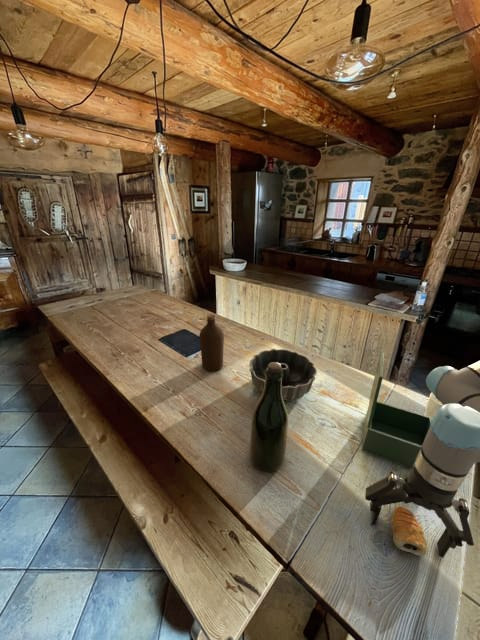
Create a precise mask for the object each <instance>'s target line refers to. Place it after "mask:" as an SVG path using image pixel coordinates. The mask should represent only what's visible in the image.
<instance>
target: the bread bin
mask: <svg viewBox="0 0 480 640" xmlns="http://www.w3.org/2000/svg"><path fill="white" fill-rule="evenodd" d="M368 411H369V406H367V410H366V413H365V416H364V424H363V436H362V445H361V451H363V452H366V453H369V454H370V455H371V454H372V455H374V456H377V457H379V458H382V459H384V460H388V461H390V462H392V463H395V464H398V465H401V466H403V467H406V468H409V469H410V470H411V469H412V466H413V464H414V462H415V459H416V457H417V455H418V453H419V451H420V449H421V447H422V445H423V442H424V440H425V438H426V435H427V433H428V430H429V428H430V425H431V421H432V417H429V416H426V415H424V413H422V414H421V413H419V412H416V411H412V410H410V409H406V408H403V407H398V406H396V405H392V404H389V403H385V402H382V401H379V400H377V403H376V407H375V411H374V414H373V418H372V422H371V426H370V429H369V428H367V422H368Z"/></svg>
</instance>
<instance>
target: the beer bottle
mask: <svg viewBox="0 0 480 640" xmlns="http://www.w3.org/2000/svg"><path fill="white" fill-rule="evenodd" d="M265 375H266V377H265V385H264V390H263V393H261V396H260V397H259V399H258V401H257V403H256V405H255V406H254V409H253V412H252V417H251V426H250V438H249V459H250V462H251V463H252V464H253V466H254V467H255V468H257V469H258V470H260V471H263V472H268V473H269V472H275V471H277V470H279V469H280V468H281V467H282V466H283V465H284V463H285V458H286V451H287V444H288V443H287V442H288V432H289V414H288V413H289V412H288V410H287V407H286V403H285V400H283V398H282V377H283V370H282V367H281V364H279V363H277V362H271V363H269V364H268V367H267V368H266V371H265Z"/></svg>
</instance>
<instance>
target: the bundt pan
mask: <svg viewBox="0 0 480 640" xmlns="http://www.w3.org/2000/svg"><path fill="white" fill-rule="evenodd" d="M271 362H277V363H279V364H281V367H282V370H283V377H282V398H283V401H288V402H292V401H293V400H299V399H302V398H303V397H304V396H305V395H307V394H308V393H309V392H310V391H311V388H312V385H313V383H314V381H316V375H317V373H318V370H317V367H315V363H314V362H313V361H311V360H310V359H309V357H307V356H306V355H303V354H300V353H299V352H297V351H292V350H289V349H284V348H278V349H277V348H271V349H267V350H262V351H260V352H258V353H257V354H254V355H253V356H252V358H251V359H250V360H249V367H250V368H249V371H250V375H251V382H252V385H253V386H254V387H255V388H256V390H257V391H258V392H259V393H260V394H262V393H263V390H264V385H265V377H266V375H265V371H266V368H267V367H268V364H269V363H271Z"/></svg>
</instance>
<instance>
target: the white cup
mask: <svg viewBox="0 0 480 640" xmlns="http://www.w3.org/2000/svg"><path fill="white" fill-rule="evenodd" d="M442 406H443V404H442V403H441V402H440V401H439V400H438V399H436V397H435V395H434V394H433V393H432V392H430V393H429V397H428V399H427V403H426V406H425V410H424V413H423V415H426V416H429V417H432V419H433V418H434V417H435V416H436V414H437V412H438V411H439V409H440V408H441V407H442Z"/></svg>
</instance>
